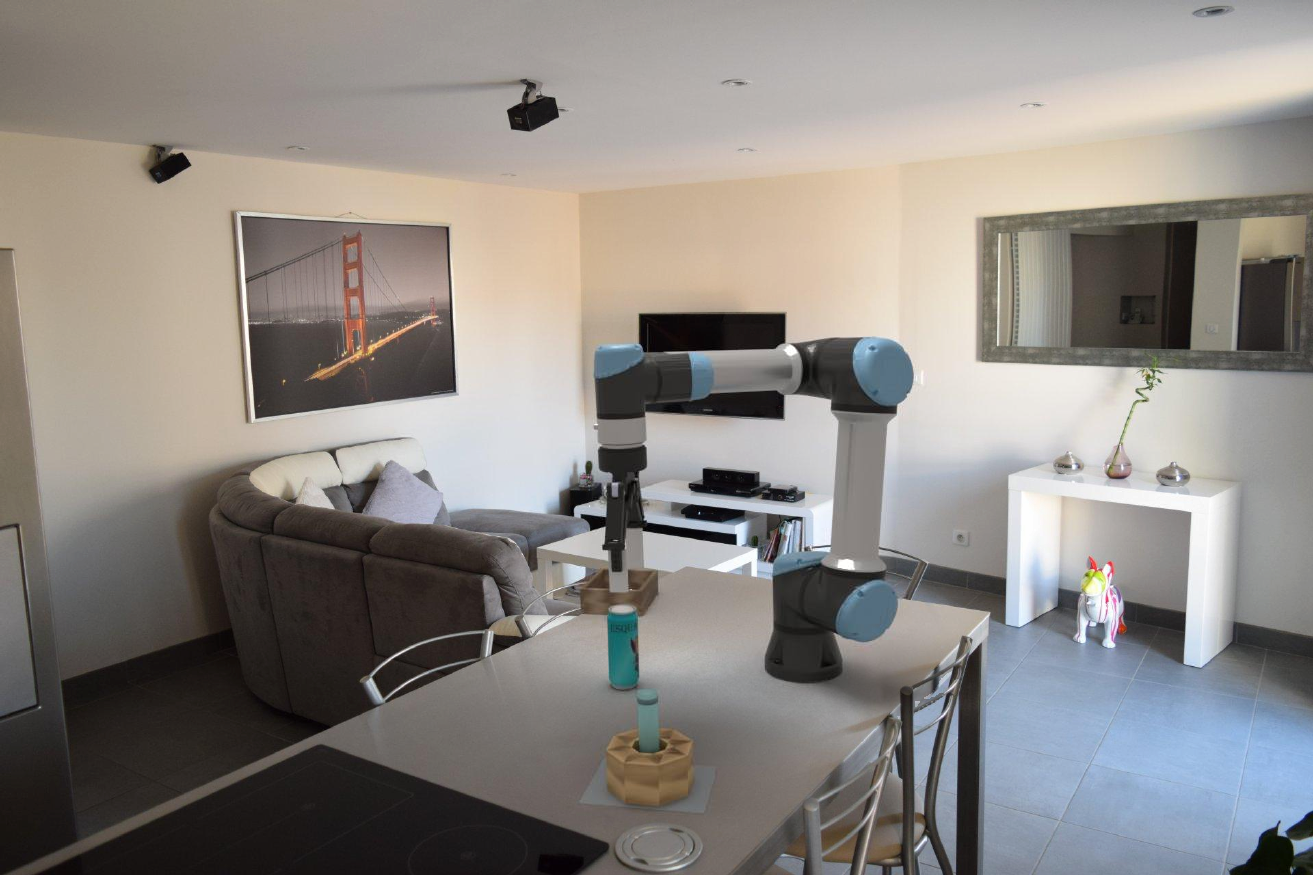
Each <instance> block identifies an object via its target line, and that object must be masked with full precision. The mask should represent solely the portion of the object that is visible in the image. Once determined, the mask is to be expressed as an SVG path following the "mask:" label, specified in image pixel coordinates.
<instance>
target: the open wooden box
mask: <svg viewBox="0 0 1313 875" xmlns="http://www.w3.org/2000/svg"><path fill="white" fill-rule="evenodd" d="M602 588H603V589H602ZM630 589H632V590H630ZM628 590H629V591H628V592H610V584H609V568H600V569H598V570H597V571H596V572H595V573H594V574H593V575H592V576H591V577H590V579H589V580H587V581H586V582H585V584H583V585H582V586H581V587H580V589H579V595H580V596H579V597H580V599H579V600H580V601H579V602H580V603H579V604H580V614H582V615H605V616H608V613H609V608H610V607H612V606H615V605H632V606H634V607H636V613H637V615H638V617H643V616H644V614H645V613H646V612H647V611H648V609H649V608H650V606H651V605H652V603H653V602H654V600H655V599H656V597H657V596H658V594H659V570H658V569H636V568H628Z"/></svg>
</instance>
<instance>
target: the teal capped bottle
mask: <svg viewBox="0 0 1313 875" xmlns="http://www.w3.org/2000/svg"><path fill="white" fill-rule="evenodd" d="M636 703H637V704H636V705H637V722H638V723H637V724H638V725H637V726H638V727H637V728H638V731H639V753H651V754H654V753H657V752H660V745H659V728H660V726H659V725H660V724H659V722H660V720H659V719H660V718H659V695H658V689H656V688H651V687H646V688H641V689H638V690H637V692H636Z"/></svg>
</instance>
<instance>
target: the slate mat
mask: <svg viewBox="0 0 1313 875" xmlns="http://www.w3.org/2000/svg"><path fill="white" fill-rule="evenodd" d="M693 766H694V780H693V783H692V786H691V789H690V792H689V795H688V796H686V797H684V798H681V799H678V800H675V801H672V802H670V803H667V804H664V805H661V806H651V805H638V804H626V803H624V802H623V801H621V800H620V799H619V798H617V797H616V796H615V795H614V794H612V793H611V792H610V791H609V790H607V771H606V757H604V758H603V759H602V761H601V762H600V764H599V766H598V768H597V769H596V771H595V773H594V775H593V777H592V779H591V780H590V782H589V784H588V786H587V788H586V790H585V791H584V793H583V795H582V797H581V799H580V800H579V802H578V804H581V805H591V806H593V805H594V806H604V807H616V808H626V809H627V808H629V809H638V810H650V811H651V810H652V811H663V812H677V813H685V814H686V813H687V814H700V815H705V814H706V810H707V806H708V802H709V799H710V796H711V793H712V788H713V786H714V781H715V778H716V774H717V771H718V768H719V766H713V765H703V764H702V765H701V764H700V765H699V764H693Z"/></svg>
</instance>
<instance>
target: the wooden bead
mask: <svg viewBox="0 0 1313 875" xmlns="http://www.w3.org/2000/svg"><path fill="white" fill-rule="evenodd" d="M659 745H660V752H657V753H654V754H651V753H639V731H638V727H637V728H634V729H631V730H627V731H625V732H621V733H618V734H614V735H613V737H612V738H611V740H610V742H609V744H608V746H607V747H606V749H605V759H606V771H607V790H609V791H610V792H611V793H612V794H614V795H615V796H616V797H617V798H619V799H620V800H621V801H623V802H624V803H626V804H638V805H651V806H661V805H664V804H667V803H670V802H672V801H675V800H678V799H681V798H684V797H686V796H688V795H689V792H690V789H691V786H692V783H693V780H694V766H693V765H694V740H693V739H691V738H689V737H688V736H685V735H684V734H682V733H681V732H679V731H678V730H676V729H674V728H664V727H663V728H660V727H659Z"/></svg>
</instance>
